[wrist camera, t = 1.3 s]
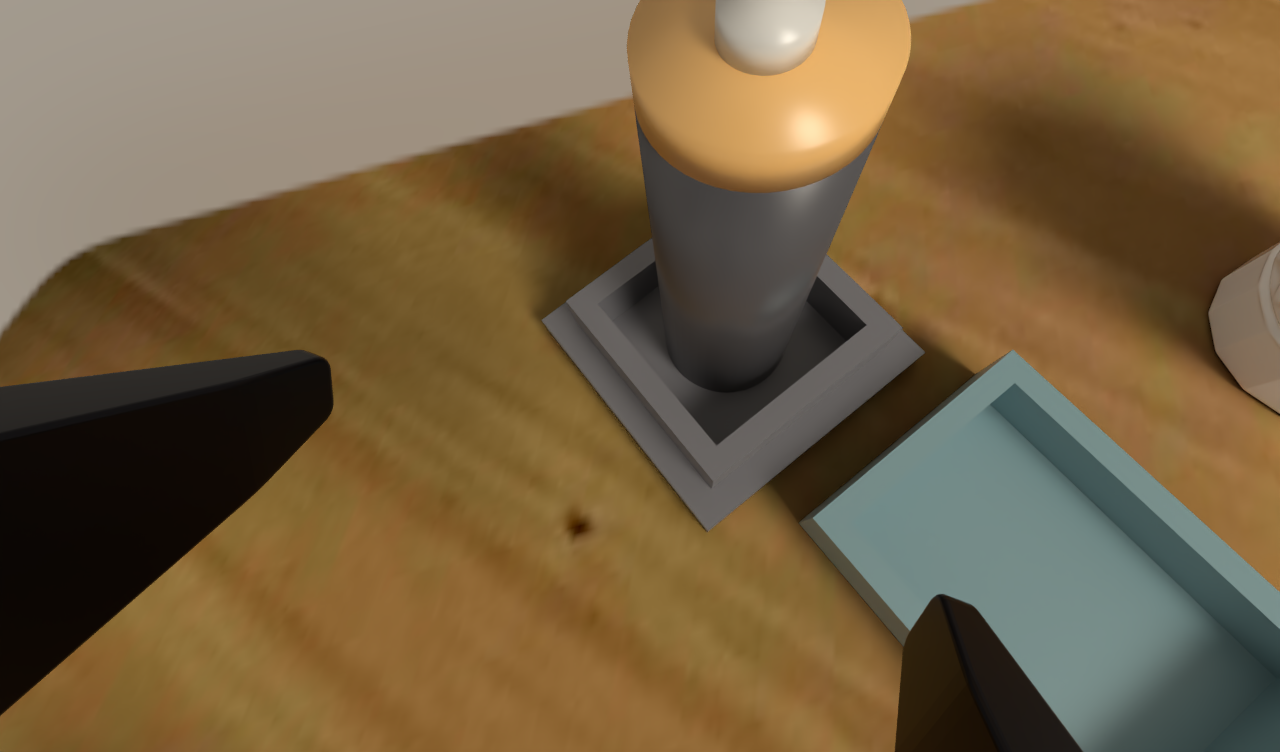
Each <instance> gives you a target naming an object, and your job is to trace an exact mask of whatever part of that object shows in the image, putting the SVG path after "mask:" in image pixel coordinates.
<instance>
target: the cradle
mask: <svg viewBox="0 0 1280 752" xmlns="http://www.w3.org/2000/svg"><path fill="white" fill-rule="evenodd" d="M542 322H543V323H544V325H545V326H546V328H547V329H548V331H549V332H550V333H551V335H552V336H553V337H554V338H555V340H556V341H557V342H558V343H559V345H560V346H561V347H562V349H563V350H564V351H565V352H566V354H567V355H568V356H569V357H570V359H571V360H572V361H573V362H574V364H575V365H576V366H577V368H578V369H579V370H580V371H581V373H582V374H583V375H584V376H585V378H586V379H587V380H588V382H589V383H590V384H591V385H592V387H593V388H594V389H595V390H596V392H597V393H598V394H599V395H600V397H601V398H602V399H603V401H604V402H605V403H606V404H607V406H608V407H609V408H610V409H611V411H612V412H613V413H614V415H615V416H616V417H617V418H618V420H619V421H620V422H621V423H622V425H623V426H624V427H625V428H626V430H627V431H628V432H629V434H630V435H631V436H632V437H633V439H634V440H635V441H636V442H637V444H638V445H639V446H640V448H641V449H642V450H643V451H644V453H645V454H646V455H647V456H648V458H649V459H650V460H651V461H652V463H653V464H654V465H655V467H656V468H657V469H658V470H659V472H660V473H661V474H662V475H663V477H664V478H665V479H666V481H667V482H668V483H669V484H670V486H671V487H672V488H673V489H674V491H675V492H676V493H677V494H678V496H679V497H680V498H681V500H682V501H683V502H684V503H685V505H686V506H687V507H688V508H689V510H690V511H691V512H692V514H693V515H694V516H695V517H696V519H697V520H698V521H699V522H700V524H701V525H702V526H703V527H704V529H705V530H706V531H707V532H708V531H710V530H711V529H712V528H713V527H714V526H716V525H717V524H718V523H719V522H720V521H722V520H723V519H724V518H725V517H727V516H728V515H729V514H730V513H731V512H733V511H734V510H735V509H736V508H738V507H739V506H740V505H741V504H742V503H744V502H745V501H746V500H747V499H748V498H750V497H751V496H752V495H753V494H755V493H756V492H757V491H758V490H759V489H761V488H762V487H763V486H764V485H766V484H767V483H768V482H769V481H770V480H772V479H773V478H774V477H775V476H776V475H778V474H779V473H780V472H781V471H783V470H784V469H785V468H786V467H787V466H789V465H790V464H791V463H792V462H793V461H795V460H796V459H797V458H798V457H800V456H801V455H802V454H803V453H804V452H806V451H807V450H808V449H809V448H811V447H812V446H813V445H814V444H815V443H817V442H818V441H819V440H820V439H821V438H823V437H824V436H825V435H826V434H828V433H829V432H830V431H831V430H832V429H834V428H835V427H836V426H837V425H838V424H840V423H841V422H842V421H843V420H845V419H846V418H847V417H848V416H849V415H851V414H852V413H853V412H854V411H856V410H857V409H858V408H859V407H860V406H862V405H863V404H864V403H865V402H866V401H868V400H869V399H870V398H871V397H873V396H874V395H875V394H876V393H877V392H879V391H880V390H881V389H882V388H884V387H885V386H886V385H887V384H888V383H890V382H891V381H892V380H893V379H894V378H896V377H897V376H898V375H899V374H901V373H902V372H903V371H904V370H905V369H907V368H908V367H909V366H910V365H911V364H913V363H914V362H915V361H916V360H917V359H919V358H920V357H921V356H922V355H923V354H924V353H925V352H924V351H923V350H922V349H921V348H920V347H919V346H918V345H917V344H916V343H915V342H914V341H913V340H912V339H911V338H910V337H909V336H908V335H907V334H906V333H905V332H904V331H903V330H902V328H903V327H901V326H900V325H899V324H898V323H897V322H896V321H895V320H894V319H893V318H892V317H891V316H890V315H889V314H888V313H887V312H886V311H885V310H884V309H883V308H882V307H881V306H880V305H879V304H878V303H877V302H876V301H874V300H873V299H872V298H871V297H870V296H869V295H868V294H867V293H866V292H865V291H864V290H863V289H862V288H861V287H860V286H859V285H858V284H857V283H856V282H855V281H854V280H853V279H852V278H851V277H850V276H849V275H847V274H846V273H845V272H844V271H843V270H842V269H841V268H840V267H839V266H838V265H837V264H836V263H835V262H834V261H833V260H832V259H831V258H830V257H829V256H828V255H827V254H826V256H825V258H824V261H823V263H822V265H821V268H820V270H819V272H818V275H817V277H816V279H815V282H814V284H813V286H812V289H811V291H810V293H809V295H808V298H807V300H806V302H805V305H804V307H803V309H802V312H801V314H800V316H799V319H798V321H797V323H796V326H795V328H794V330H793V333H792V335H791V337H790V340H789V342H788V344H787V347H786V349H785V351H784V354H783V356H782V358H781V361H780V363H779V364H778V366H777V367H776V369H775V370H774V371H773V372H772V374H771V375H770V376H768V377H767V378H766V379H765V380H764V381H762V382H761V383H759V384H758V385H756V386H754V387H752V388H749V389H746V390H743V391H738V392H730V393H725V392H715V391H711V390H707V389H704V388H702V387H699V386H697V385H696V384H694V383H692V382H691V381H689V380H688V379H687V378H685V377H684V376H683V375H682V374H681V373H680V372H679V370H678V369H677V368H676V366H675V365H674V363H673V361H672V359H671V357H670V355H669V352H668V348H667V342H666V335H665V327H664V320H663V313H662V306H661V298H660V291H659V284H658V276H657V269H656V262H655V254H654V247H653V240H652V238H651V239H650V240H648V241H647V242H645V243H644V244H643V245H641V246H640V247H639V248H637V249H636V250H635V251H633V252H632V253H631V254H629V255H628V256H626V257H625V258H624V259H622V260H621V261H620V262H618V263H617V264H616V265H614V266H613V267H612V268H610V269H609V270H607V271H606V272H605V273H603V274H602V275H601V276H599V277H598V278H597V279H595V280H594V281H593V282H591V283H590V284H588V285H587V286H586V287H584V288H583V289H582V290H580V291H579V292H578V293H576V294H575V295H574V296H572V297H571V298H569V299H568V300H567V301H566V302H565V303H564V304H563V305H561V306H560V307H558V308H557V309H556V310H554V311H553V312H552V313H550V314H549V315H548V316H546V317H545V318H544V319H542Z"/></svg>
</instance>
